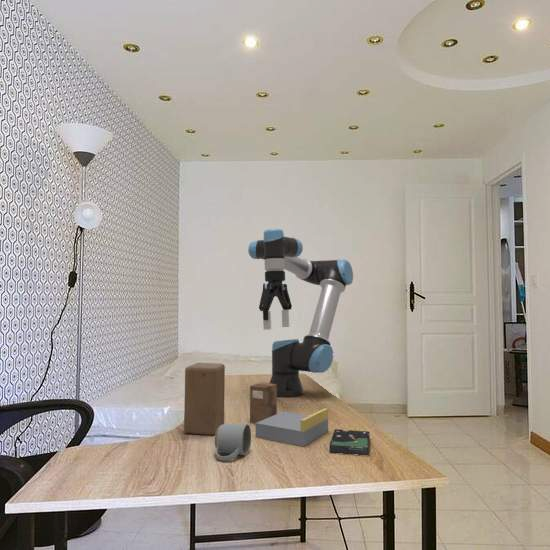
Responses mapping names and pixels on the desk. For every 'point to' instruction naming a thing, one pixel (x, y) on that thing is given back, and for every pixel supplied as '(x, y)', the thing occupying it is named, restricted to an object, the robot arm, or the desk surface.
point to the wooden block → (204, 398)
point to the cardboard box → (262, 401)
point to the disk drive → (350, 442)
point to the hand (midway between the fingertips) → (276, 328)
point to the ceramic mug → (232, 440)
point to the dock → (293, 427)
